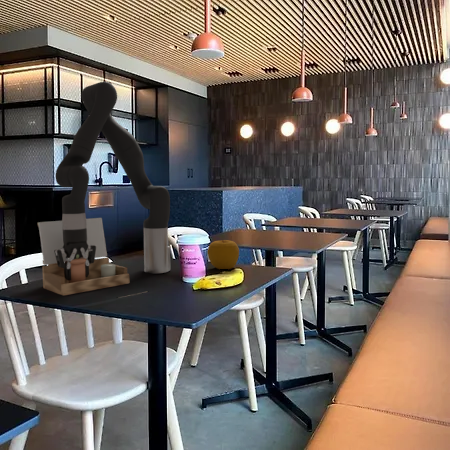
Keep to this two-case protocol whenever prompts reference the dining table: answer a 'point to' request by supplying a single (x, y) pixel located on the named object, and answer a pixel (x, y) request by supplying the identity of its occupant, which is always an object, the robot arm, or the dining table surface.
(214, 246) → the apple
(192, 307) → the dining table surface
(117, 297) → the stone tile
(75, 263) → the terracotta pot
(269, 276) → the dining table surface
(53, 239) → the lid
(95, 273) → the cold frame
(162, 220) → the robot arm
